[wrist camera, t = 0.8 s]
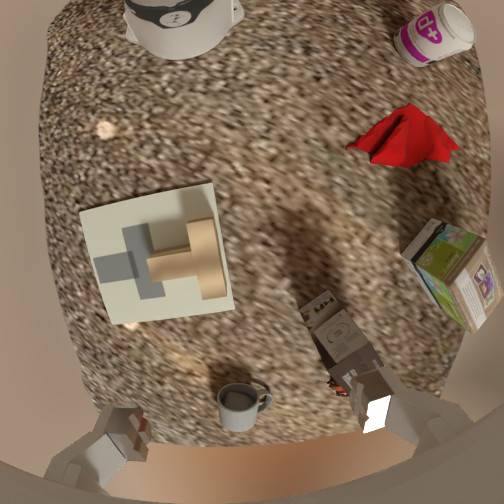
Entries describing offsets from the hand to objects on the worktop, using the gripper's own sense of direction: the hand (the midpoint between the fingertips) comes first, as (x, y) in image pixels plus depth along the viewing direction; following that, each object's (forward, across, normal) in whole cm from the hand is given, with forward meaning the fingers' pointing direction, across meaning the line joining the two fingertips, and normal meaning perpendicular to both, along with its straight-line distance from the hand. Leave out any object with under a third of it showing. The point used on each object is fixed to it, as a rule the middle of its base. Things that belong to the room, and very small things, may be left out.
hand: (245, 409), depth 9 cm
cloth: (+35, -32, -11) cm, 49 cm away
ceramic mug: (+35, +3, +32) cm, 48 cm away
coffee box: (+35, -13, +17) cm, 41 cm away
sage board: (+34, +13, +2) cm, 37 cm away
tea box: (+35, -36, +11) cm, 51 cm away
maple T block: (+34, +7, +2) cm, 35 cm away
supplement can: (+34, -36, -30) cm, 58 cm away
